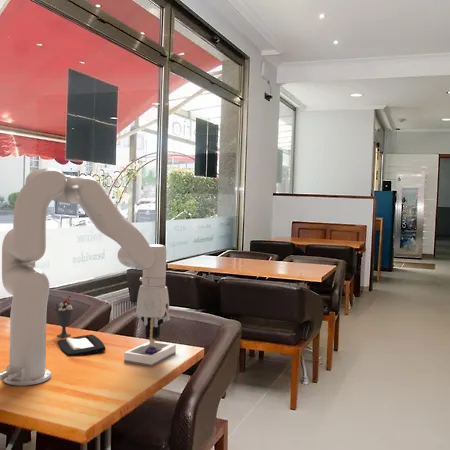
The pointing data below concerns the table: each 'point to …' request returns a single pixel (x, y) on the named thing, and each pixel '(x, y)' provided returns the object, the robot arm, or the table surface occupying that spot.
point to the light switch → (81, 345)
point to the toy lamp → (151, 340)
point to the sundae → (64, 316)
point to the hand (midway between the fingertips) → (152, 337)
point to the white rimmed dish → (140, 357)
